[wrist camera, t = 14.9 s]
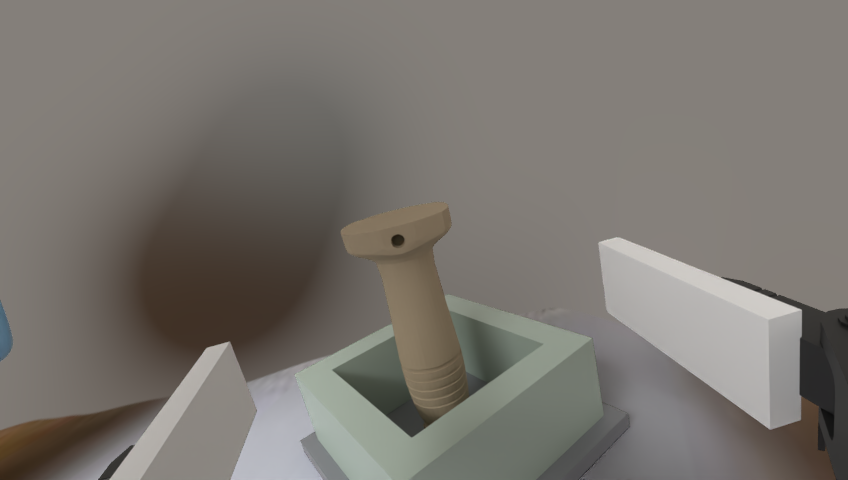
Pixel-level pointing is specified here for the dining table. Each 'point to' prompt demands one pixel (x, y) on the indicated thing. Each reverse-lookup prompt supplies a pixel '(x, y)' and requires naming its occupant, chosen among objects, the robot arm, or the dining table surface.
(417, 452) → the holder
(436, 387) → the handle
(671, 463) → the dining table surface
